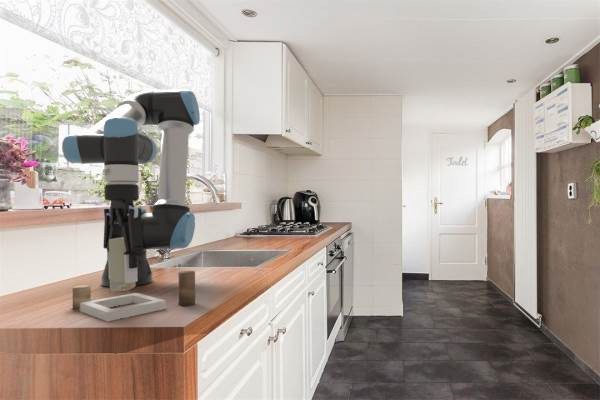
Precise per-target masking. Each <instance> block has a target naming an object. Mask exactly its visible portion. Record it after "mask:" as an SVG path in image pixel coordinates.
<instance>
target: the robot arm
mask: <svg viewBox="0 0 600 400" xmlns="http://www.w3.org/2000/svg"><path fill="white" fill-rule="evenodd" d="M199 107H200V106H199V103H198V100H197V96H196V94H195V93H194V92H193V91H192V90H191V89H190V90H189V89H181V88H179V89H147V90H143V91H140V92H136V93H134V94H131V95H130V96H127V97H126V98H124V99H123V100H121V101H120V102H119V103H118V104H117V106H116V108H115V110H114V111H112V112H110V113H109V114H108V115H107V116H106V117H104V118H102V120H100V121H99V122H97V123H96V124H95V125H93V126H92V127H91V128H89V129H88V130H87V131H85V132H84V133H82V134H81V133H80V134H78V133H75V134H68V135H66V136H65V137H64V138H63V140H62V143H61V145H62V146H61V148H62V153H63V157H64V159H65V160H66V161H67V162H68V163H71V164H81V165H84V164H104V165H103V166H104V169H102V172H103V174H104V182H105V183H107V184H105V185H104V188H103V189H104V200H105V201H110V207H108V208H104V209H103V214H104V227H103V249H104V250H105V249H106V253H107V254H106V256H107V257H106V258H107V259H106V263H105V265H104V269H103V272H102V275H101V277H100V278H101V279H100V281H101V286H104V287H109V288H110V271H109V239H113V238H122V237H124V242H125V247H126V252H124V257H125V283H131V282H135V284H136V286H141V285H146V284H149V283H151V282H153V272H152V269H151V266H150V263H149V261H148V257H147V250H173V251H174V250H178V249H179V250H181V249H183V250H184V249H186V248H187V247H189V246H190V244H191V243H192V240H193V238H194V234H195V227H196V221H195V220H196V216H195V214H194V213H193V212H191V210H190V209H191V208H190V206H189V205H188V204H187V203H186V191H187V175H188V174H187V173H188V155H189V154H188V153H189V139H190V138H189V136H190V135H191V134H192V133H193V132H194V129H195V128H194V126H197V125H199V124H200V120H201V118H200V117H201V115H200V110H199V109H200V108H199ZM155 125H156V126H157V128H158V130H159V131H160V132H161V146H160V159H159V160H160V161H159V162H160V163H159V177H158V195H157V201H156V202H155V203H154V204H152V209H151V212H147V210H146V208H136V207H135V206H134V205H135V204H134V201H138V200H139V198H140V196H139V195H140V193H139V189H140V188H139V185H138V184H137V183H138V182H139V181H140V180H139V165H140V164H142V165H144V164H145V165H146V164H149V163H151V162H153V160H154V159H155V157H156V156H157V155H156V154H157V152H158V150H157V146H156V143H155V142H154V140H153V139H151V138H150V137H149V136H147V135H146V134H142V133H139V132H140V131H139V129H140V127H142V126H155Z"/></svg>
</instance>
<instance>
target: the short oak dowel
mask: <svg viewBox="0 0 600 400" xmlns="http://www.w3.org/2000/svg"><path fill="white" fill-rule="evenodd" d="M71 289H72V292H71V293H72V310H80V303H82V302H88V301H92V300H91V299H92V290H91V289H92V286H91V285H87V284H86V285H77V286H72V288H71Z"/></svg>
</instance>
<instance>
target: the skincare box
mask: <svg viewBox="0 0 600 400" xmlns="http://www.w3.org/2000/svg"><path fill="white" fill-rule="evenodd" d="M124 252H126V247H125V242H124V237H122V238H113V239H109V271H110V287H109V292H126V291H127V292H128V291H130V290H131V289H134V288H135V287H136V286H137V285H136V284H135V282H131V283H125V257H124Z"/></svg>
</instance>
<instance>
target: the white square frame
mask: <svg viewBox="0 0 600 400" xmlns="http://www.w3.org/2000/svg"><path fill="white" fill-rule="evenodd" d="M166 303H167V302H166V300H165V299H161V298H158V297H154V296H151V295H145V294H142V293H138V292H132V293H127V294H122V295H115V296H110V297H106V298H100V299H95V300H91V301H88V302H82V303H80V309H79V312H81V313H84V314H87V315H89V316H91V317H95V318H97V319H100V320H101V321H102V320H103V321H105V322H112V321H116V319H117V320H121V319H120V318H122V319H125V318H130V316H131V317H134V316H139V315H143V314H144V315H145V314H148V313H153V312H158V311H162V310H166V307H167V304H166ZM129 304H130V305H129ZM119 305H120V306H121V307H120V306H119ZM114 306H115V307H116V308H114ZM118 306H119V307H118Z"/></svg>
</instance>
